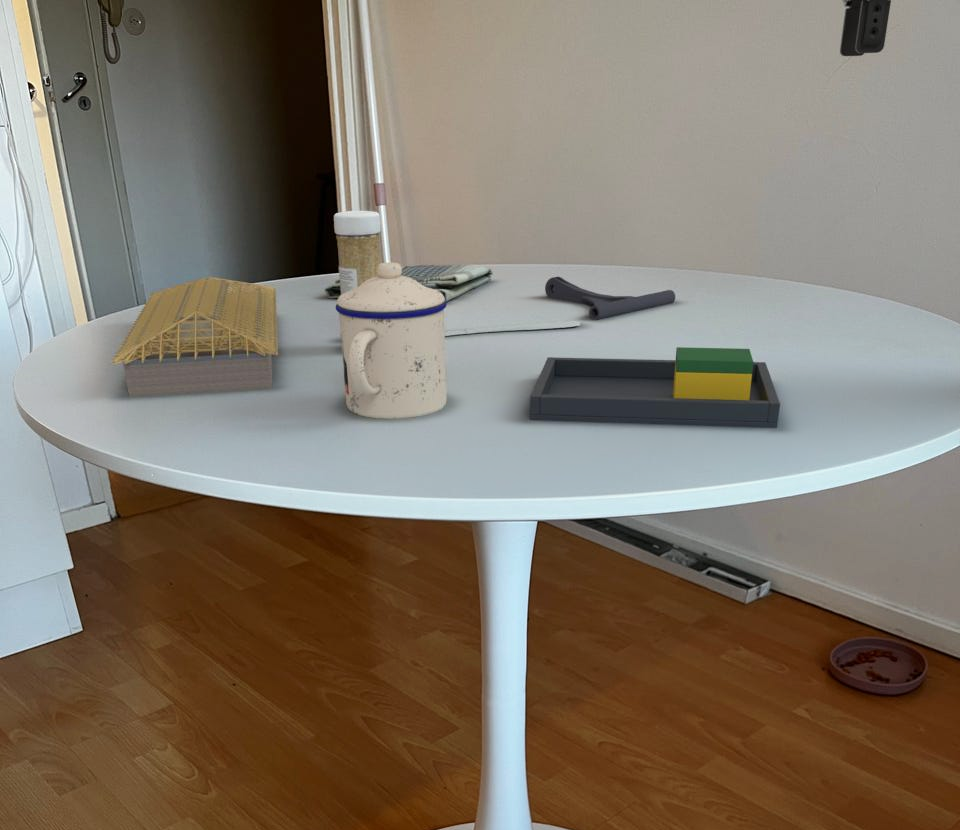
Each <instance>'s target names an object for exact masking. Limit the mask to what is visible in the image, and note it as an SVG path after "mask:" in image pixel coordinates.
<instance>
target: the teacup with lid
mask: <svg viewBox="0 0 960 830" xmlns="http://www.w3.org/2000/svg"><path fill="white" fill-rule="evenodd" d="M400 265H401V264H400V263H398V262H381V264H379V265H378V266H377V274H378V276H377V277H373V278H370V279H368V280H366V281H365V282H363V283H362V284H361V285H360V286H359V287H357V288H356V289H354V290H351V291H348V292H346V293H343V294H342V295H340V296H339V298H337V300H336V305H335V311H336V312H337V313H338V319H339V331H340V342H341V343H340V344H341V355H342V367H343V378H344V390H345V392H344V393H345V402H346V403H345V404H346V407H347V409H348V410H349V411H350V412H351V413H353V414H355V415H358V416H360V417H365V418H371V419H383V420H384V419H385V420H396V419H398V420H399V419H400V420H401V419H411V418H418V417H424V416H427V415H431V414H434V413H437V412H438V411H440V410H442V409H443V408H444V407H445V406H446V404H447V399H448V398H447V396H448V395H447V367H446V338H445V337H446V336H445V332H444V331H445V309H446V308H447V306H448V305H447V301H445V298H444V296H443V294H442V293H441V292H439V291H437V290H435V289H431V288H427V287H425V286H423V285H421V284H420V283H419V282H417V281H416V280H414V279H412V278H410V277H407V276H401V274H402V268H401V266H400Z"/></svg>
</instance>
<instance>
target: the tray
mask: <svg viewBox="0 0 960 830" xmlns="http://www.w3.org/2000/svg"><path fill="white" fill-rule="evenodd" d="M675 361H676V359H673V360H672V359H643V358H641V359H638V358H637V359H636V358H595V357H594V358H592V357H590V358H589V357H555V356H554V357H553V356H547V358H546V360H545V362H544V364H543V366H542V370H541V371H540V374H539V375H538V379H537V381H536V383H535V385H534V387H533V389H532V392H531V395H530V397H529V421H541V422H542V421H543V422H545V421H546V422H574V423H575V422H576V423H603V424H604V423H606V424H607V423H609V424H610V423H611V424H638V425H639V424H641V425H669V426H671V425H672V426H699V427H732V428H734V427H735V428H758V429H759V428H761V429H763V428H766V429H778V424H779V417H780V408H781V403H780V400H779V397H778V394H777V391H776V388H775V386H774V385H775V384H774V382H773V380H772V377H771V374H770V371H769V369H768V366H767V364H766V361H757V362H756V361H753V371H752V379H751V388H750V396H749V400H722V399H687V398H673V387H674V374H675Z"/></svg>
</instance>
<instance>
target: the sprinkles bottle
mask: <svg viewBox="0 0 960 830" xmlns="http://www.w3.org/2000/svg"><path fill="white" fill-rule="evenodd" d="M333 222H334V223H333V228H334V233H335V234H336V236H335V238H336V241H337V253H338V276H339V279H340V288H341V295H342V294H343V293H346V292H348V291H351V290H354V289H356V288H357V287H359V286H360V285H361V284H362V283H363V282H365V281H366V280H368V279H370V278H373V277H377V276H378V274H377V266H378V265H379V264H381V263H382V257H381V243H380V237H381V236H380V233H381V231H382V230H381V229H382V228H381V227H382V226H381V216H380V213H379V212H378V211H373V210H372V211H371V210H348V211H347V210H346V211H340V212H336V213H335V214H334V215H333Z"/></svg>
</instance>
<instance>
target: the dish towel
mask: <svg viewBox="0 0 960 830" xmlns="http://www.w3.org/2000/svg"><path fill="white" fill-rule="evenodd" d="M400 266H401V268H402V274H401V276H407V277H410V278H412V279H414V280H416V281H417V282H419V283H420V284H421V285H423V286H425V287H427V288H431V289H435V290H437V291H439V292H441V293H442V294H443V296H444V298H445V301H446V302H449V301H450V300H452V299H455V298H457V297H460V296H462V295H464V294H465V293H467V292H468V291H470V290H472V289H476V288H478V287H480V286H482V285H484V284H486V283H488V282H491V281H492V277H493V270H492V268H491V267H488V266H485V265H480V264H468V263H467V264H465V263H464V264H447V265H445V264H444V265H435V264H430V265H429V264H428V265H426V264H425V265H424V264H419V265H401V264H400ZM324 292H325V293H326V296H327V298H328V299H338V298H339V296H340V295H341V288H340V278H337V279H336V280H335V281H334V284H331V285H328V286H327V287H325V288H324Z"/></svg>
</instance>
